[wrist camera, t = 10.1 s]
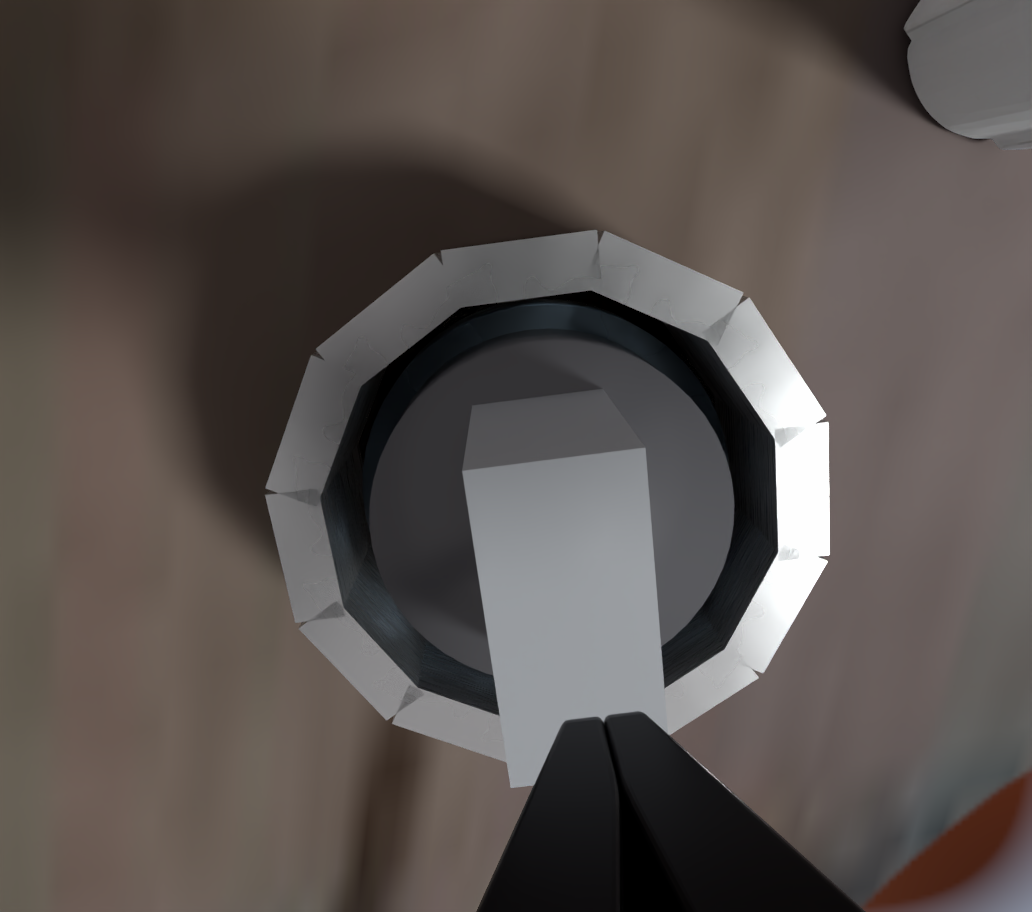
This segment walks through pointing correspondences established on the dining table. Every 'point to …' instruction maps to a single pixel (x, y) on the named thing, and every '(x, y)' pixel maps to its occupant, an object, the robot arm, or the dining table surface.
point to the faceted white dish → (560, 270)
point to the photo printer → (975, 67)
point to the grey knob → (552, 526)
